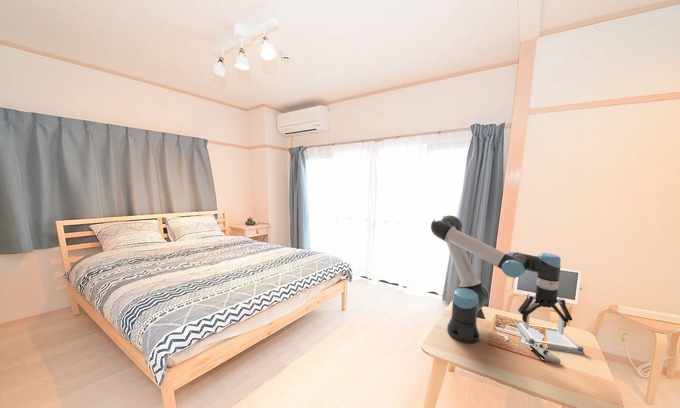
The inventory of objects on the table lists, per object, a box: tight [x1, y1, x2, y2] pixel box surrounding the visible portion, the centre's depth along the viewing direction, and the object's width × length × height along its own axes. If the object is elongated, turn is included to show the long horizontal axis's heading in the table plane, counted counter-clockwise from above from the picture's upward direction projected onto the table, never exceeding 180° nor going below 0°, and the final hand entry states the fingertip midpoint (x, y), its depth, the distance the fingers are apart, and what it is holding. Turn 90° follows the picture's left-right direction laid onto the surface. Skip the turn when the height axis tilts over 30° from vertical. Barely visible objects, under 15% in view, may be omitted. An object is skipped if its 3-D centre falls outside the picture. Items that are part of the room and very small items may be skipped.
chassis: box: [514, 322, 585, 355], centre depth 123 cm, size 22×18×3 cm
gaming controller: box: [529, 343, 562, 365], centre depth 111 cm, size 11×6×7 cm
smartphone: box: [477, 308, 486, 320], centre depth 148 cm, size 7×1×15 cm
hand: (542, 330), depth 110 cm, fingers open, 13 cm apart
